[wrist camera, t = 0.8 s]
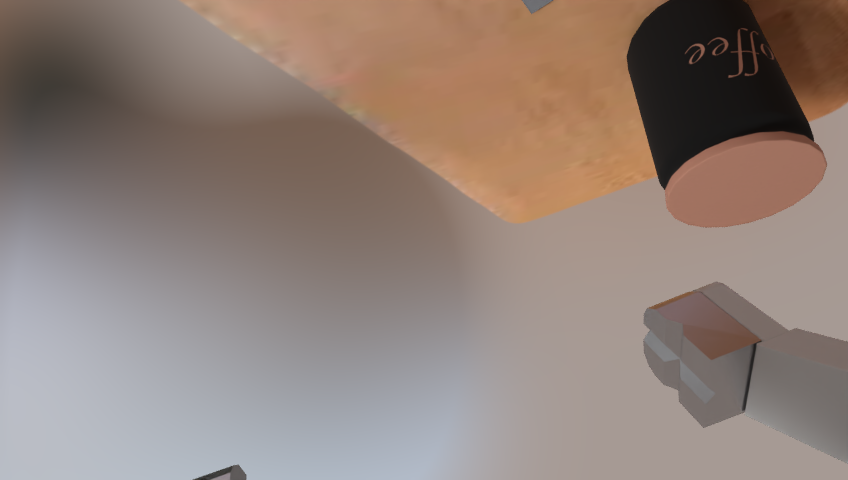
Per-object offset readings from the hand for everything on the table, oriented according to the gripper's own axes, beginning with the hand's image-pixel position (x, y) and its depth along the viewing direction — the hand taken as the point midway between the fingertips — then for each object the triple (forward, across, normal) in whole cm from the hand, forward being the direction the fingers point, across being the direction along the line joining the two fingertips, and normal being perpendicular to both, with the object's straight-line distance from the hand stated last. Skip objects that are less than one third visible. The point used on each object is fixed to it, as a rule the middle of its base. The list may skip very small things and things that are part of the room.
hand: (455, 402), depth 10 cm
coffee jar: (+37, -34, +8) cm, 51 cm away
